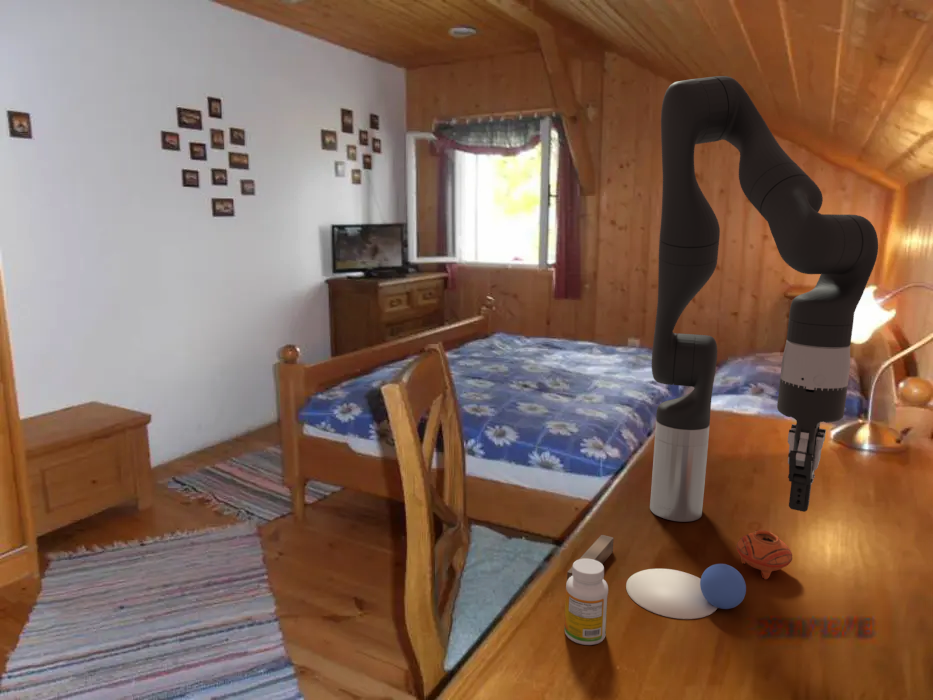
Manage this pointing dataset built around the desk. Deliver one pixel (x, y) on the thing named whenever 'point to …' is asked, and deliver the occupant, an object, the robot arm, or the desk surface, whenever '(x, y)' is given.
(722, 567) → the ball
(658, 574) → the white round plate
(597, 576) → the supplement bottle
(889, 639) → the desk surface
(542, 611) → the desk surface
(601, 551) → the wall
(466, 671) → the desk surface
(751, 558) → the pot
